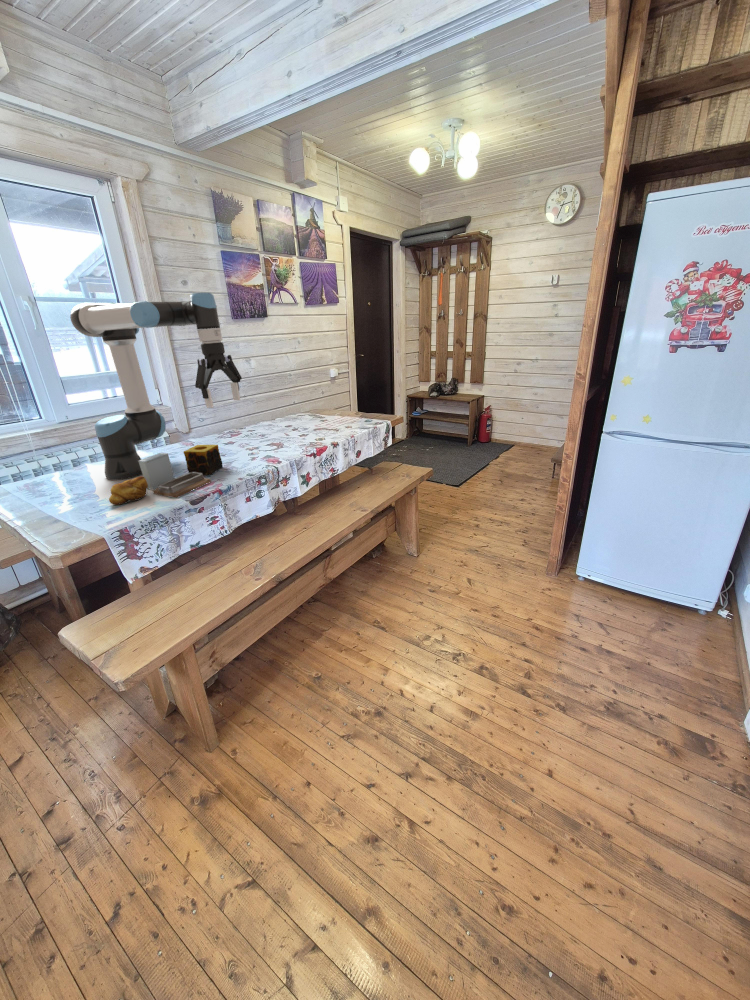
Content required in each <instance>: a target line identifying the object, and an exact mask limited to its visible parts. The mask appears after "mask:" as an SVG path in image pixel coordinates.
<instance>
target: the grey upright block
mask: <svg viewBox="0 0 750 1000" xmlns="http://www.w3.org/2000/svg"><path fill="white" fill-rule="evenodd" d="M141 459H142V460H139V464H140V468H141V471H142V474H141V475H142V476H143V477H144V478H145V479H146V481H147V484H148V487H147V489H146V490H148V489H149V490H156V489H158V487H159V486H158V485H160V484H163V483H165V482H168V481H170V480H172V479H175V478H176V477H175V475H174V472H173V467H172V464H171V459H170V457H169V453H167V452H159V453H157V454H153V455H151V456H148V457H144V458H141Z"/></svg>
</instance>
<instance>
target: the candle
mask: <svg viewBox="0 0 750 1000" xmlns="http://www.w3.org/2000/svg"><path fill="white" fill-rule="evenodd" d="M183 456H184V457H185V458H184V459H185V462H186V469H187V473H189V472H190V473H192V472H198V473H203V476H211V475H213V474H215V473H216V472H218V471H219V470H220V469H222V468H223V467H224V466H223V461H222V460H223V459H222V458H221V453H220V449H219V445H218V444H196V445H194V446H192V447H190V448H187V449H186V450H184V451H183Z"/></svg>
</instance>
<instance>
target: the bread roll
mask: <svg viewBox="0 0 750 1000" xmlns="http://www.w3.org/2000/svg"><path fill="white" fill-rule="evenodd" d="M147 487H148V484H147V481H146V479H145V478H144V477H143V475H141V476H140V475H138V476H135V477H133V478H132V479H131V478H129V479H127V480H126V479H125V480H124V481H123V482H120V483H116V484H113V485H112V487H110V493H111V495H110V496H109V498H108V501H109V503H110V504H111V505H113V506H115V505H116V506H119V505H124V504H126V503H128V502H134V501H138V500H141V499H142V498H144V497H145V496H146V495H147V491H148V489H147Z"/></svg>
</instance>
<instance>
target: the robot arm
mask: <svg viewBox="0 0 750 1000" xmlns="http://www.w3.org/2000/svg"><path fill="white" fill-rule="evenodd" d="M70 321H71V324H72V326H73V328H75V330H77V331H78V332H79V333H81V334H82V335H84V336H88V337H90V338H91V337H92V338H102V340H103V343H104V344H106V345H108V347H109V350H110V353H111V356H112V361H113V363H114V366H115V367H114V368H115V369H116V373H117V378H118V380H119V383H120V387H121V390H122V393H123V397H124V400H125V403H126V409H125V410H124V414H116V415H112V416H108V417H104V418H102V419H100V420H98V421H96V423H95V424H94V430H95V434H96V437H97V438H98V442H99V445H100V448H101V450H102V454H103V457H104V475H105V478H106V479H107V480H111V481H117V480H118V481H119V480H126V479H127V480H128V479H131V478H136V477H139V476H140V475H143V474H142V471H141V468H140V464H139V460H142V459H143V458H141V457H140V455H139V454H138V451H137V449H136V445H139V444H142V443H146V442H150V441H155V440H157V439H158V438H161V437H162V436H163V435H164V434H165V432H166V427H167V425H166V424H167V423H166V420H165V417H164V415H163V414H162V413H161V412H160V411H159V410H157V409H156V407H155V406H154V405H152V404H151V403H150V402H151V401H150V399H149V394H148V391H147V388H146V385H145V381H144V380H145V379H144V378H143V377H144V376H143V374H142V370H141V367H140V361H139V358H138V355H137V352H136V349H135V343H136V341H137V339H138V338H137V337H136V336H137V334H138V333H139V332H140V329H142V328H143V329H144V328H145V329H149V328H159V327H176V326H177V327H185V326H192V325H194V326H195V325H196V330H197V335H198V339H199V342H200V343H201V344H200V348H201V353H202V355H203V356H204V358H197V359H196V360H197V370H196V377H195V378H196V379H195V385H194V386H195V389H199V390H201V395H202V398H203V399H204V402H205V408H207V409H209V408H210V409H213V408H214V407H215V406H214V402H213V399H212V393H211V388H209V384H210V382H211V379H212V377H213V375H214V373H215V372H216V371H219V370H220V371H222V372H223V373H224V375H226V377H227V378H228V379H229V380H230V381H231V382H230V387H231V388H230V389H231V393H232V398H233V399H232V400H233V401H241V396H240V387H239V386H240V385H239V383H240V382H241V380H242V379H243V378H242V376H241V373H240V372H239V370H238V368H237V367H236V366H237V365H235V363H234V361H233V357H232V355H231V354H225V353H226V352H225V351H226V350H225V346H224V342H223V336H222V331H221V325H220V320H219V315H218V308H217V304H216V300H215V296H214V294H213V293H212V292H194V293H190V300H187V301H186V300H184V301H147V300H145V301H140V300H139V301H135V302H133V303H121V302H102V303H101V302H98V303H97V302H96V303H95V302H84V303H80V304H77V305H75V306H74V307H73V308H72V310H71V312H70Z"/></svg>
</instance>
